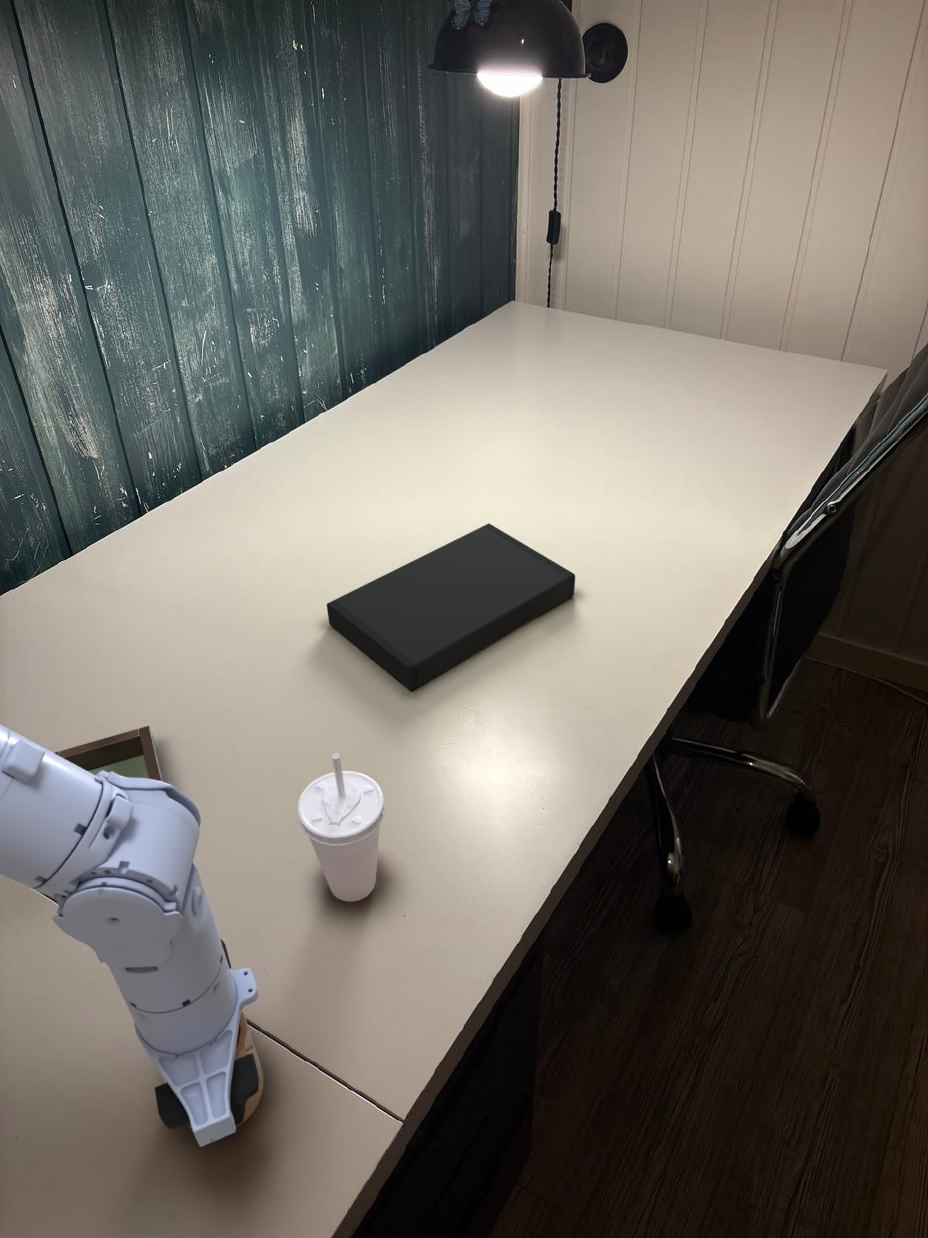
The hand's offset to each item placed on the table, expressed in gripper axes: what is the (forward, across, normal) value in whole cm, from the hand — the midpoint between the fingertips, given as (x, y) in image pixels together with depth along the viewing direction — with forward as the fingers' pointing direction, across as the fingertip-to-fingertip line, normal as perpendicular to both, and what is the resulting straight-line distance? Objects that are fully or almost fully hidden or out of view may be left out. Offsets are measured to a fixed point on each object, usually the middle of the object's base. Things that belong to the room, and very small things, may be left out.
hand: (216, 1078), depth 59 cm
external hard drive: (+2, +41, -34) cm, 53 cm away
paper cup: (+2, 0, 0) cm, 2 cm away
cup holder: (+2, +29, +4) cm, 29 cm away
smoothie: (+2, +12, -13) cm, 18 cm away
